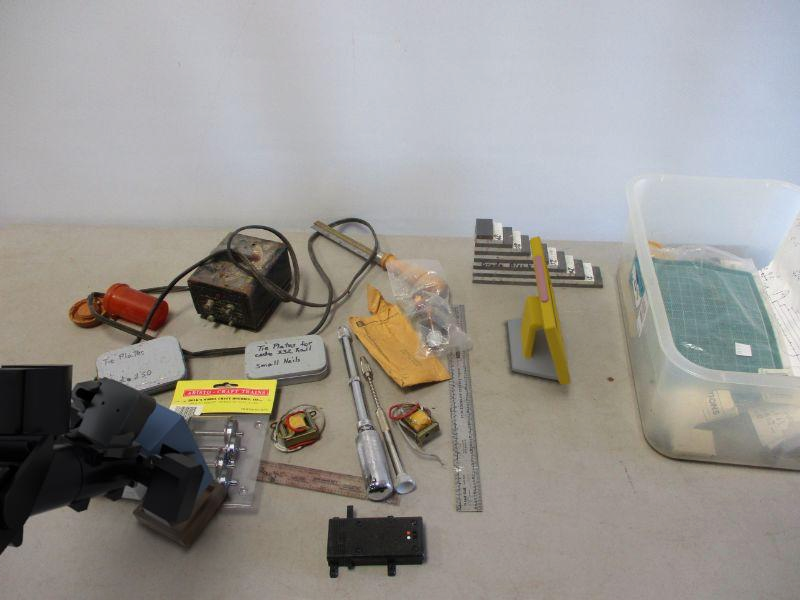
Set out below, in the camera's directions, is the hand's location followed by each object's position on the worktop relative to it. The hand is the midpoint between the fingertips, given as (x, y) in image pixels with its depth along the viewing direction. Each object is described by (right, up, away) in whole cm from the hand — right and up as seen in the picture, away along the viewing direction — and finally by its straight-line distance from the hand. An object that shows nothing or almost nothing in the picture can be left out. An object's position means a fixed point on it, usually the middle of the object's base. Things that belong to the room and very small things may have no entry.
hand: (176, 447), depth 69 cm
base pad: (-2, -10, +9) cm, 14 cm away
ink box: (-12, -8, +12) cm, 19 cm away
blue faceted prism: (0, -6, +4) cm, 7 cm away
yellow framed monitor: (+48, +9, +28) cm, 56 cm away
